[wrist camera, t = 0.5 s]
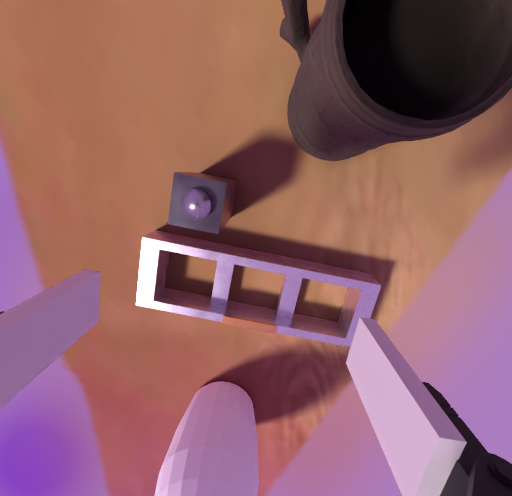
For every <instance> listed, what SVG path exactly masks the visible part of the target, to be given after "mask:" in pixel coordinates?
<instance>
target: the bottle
mask: <svg viewBox="0 0 512 496" xmlns="http://www.w3.org/2000/svg"><path fill="white" fill-rule="evenodd" d="M258 487H259V480H258V439H257V431H256V424H255V416H254V409H253V404H252V400H251V398H250V397H249V395H248V394H247V393H246V392H245V391H244V390H243V389H242V388H240V387H239V386H238V385H235V384H233V383H230V382H224V381H219V382H212V383H210V384H208V385H205V386H203V387H202V388H200V389H199V390H198V391H197V392H196V393H195V395H194V397H193V399H192V401H191V403H190V405H189V406H188V408H187V410H186V412H185V414H184V416H183V418H182V420H181V422H180V424H179V426H178V428H177V430H176V432H175V435H174V437H173V440H172V442H171V445H170V447H169V450H168V452H167V455H166V457H165V460H164V462H163V465H162V467H161V470H160V472H159V477H158V481H157V486H156V491H155V496H257V493H258Z"/></svg>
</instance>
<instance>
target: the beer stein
mask: <svg viewBox="0 0 512 496" xmlns="http://www.w3.org/2000/svg"><path fill="white" fill-rule="evenodd" d="M281 1H282V5H283V10H284V14H285V19H283V20H282V24H281V27H280V37H282V38H283V39H284V40H285V41H287V42H288V43H289V44H290V45H291V46H292V47H293V48H294V49H295V50H296V51H297V53H298V56H299V59H300V62H301V64H300V67H299V69H298V72H297V75H296V78H295V82H294V86H293V88H292V90H291V93H290V96H289V101H288V123H289V127H290V130H291V132H292V135H293V137H294V138H295V140H296V142H297V143H298V144H299V145H300V147H301V148H302V149H303V150H305V151H306V152H307V153H308V154H310V155H312V156H314V157H316V158H319V159H323V160H329V161H339V160H343V159H348V158H350V157H353V156H356V155H359V154H362V153H364V152H366V151H368V150H371V149H374V148H377V147H379V146H382V145H385V144H388V143H394V142H400V141H415V140H421V139H427V138H432V137H436V136H439V135H442V134H445V133H448V132H451V131H453V130H455V129H457V128H459V127H460V126H462V125H464V124H466V123H467V122H469V121H471V120H472V119H473V118H475V117H477V116H479V115H480V114H482V113H484V112H485V111H486V110H488V109H489V108H490V107H492V106H493V105H494V104H496V103H497V102H498V101H500V100H501V99H502V98H503V97H504V96H505V95H506V94H507V92H508V91H509V90H510V89H511V88H512V0H326V4H325V7H324V11H323V16H322V19H321V20H320V22H319V24H318V26H317V27H316V29H315V31H314V32H313V34H312V36H311V37H310V33H309V19H308V11H307V0H281Z"/></svg>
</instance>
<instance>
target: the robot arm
mask: <svg viewBox="0 0 512 496" xmlns="http://www.w3.org/2000/svg"><path fill="white" fill-rule="evenodd" d="M99 300H100V272H98V271H93V270H87V269H84V270H82V271H81V272H79V273H77V274H75V275H73V276H71V277H69V278H68V279H66V280H64V281H62V282H60V283H58V284H56V285H54V286H53V287H51V288H49V289H47V290H45V291H43V292H41V293H39V294H38V295H36V296H34V297H32V298H30V299H28V300H26V301H25V302H23V303H21V304H19V305H17V306H15V307H13V308H11V309H10V310H8V311H6V312H4V311H3V312H0V409H1V408H2V407H3V406H4V405H5V404H6V403H7V402H9V401H10V400H11V399H12V398H13V397H14V396H15V395H16V394H18V393H19V392H20V391H21V390H22V389H23V388H24V387H25V386H27V385H28V384H29V383H30V382H31V381H32V380H33V379H34V378H35V377H37V376H38V375H39V374H40V373H41V372H42V371H43V370H44V369H46V368H47V367H48V366H49V365H50V364H51V363H52V362H53V361H55V360H56V359H57V358H58V357H59V356H60V355H61V354H62V353H64V352H65V351H66V350H67V349H68V348H69V347H70V346H71V345H73V344H74V343H75V342H76V341H77V340H78V339H79V338H80V337H81V336H83V335H84V334H85V333H86V332H87V331H88V330H89V329H90V328H92V327H93V326H94V325H95V324H96V323H97V322H98V321H99ZM346 365H347V367H348V370H349V372H350V374H351V377H352V379H353V381H354V384H355V386H356V388H357V391H358V393H359V395H360V398H361V400H362V402H363V404H364V407H365V409H366V412H367V414H368V416H369V419H370V421H371V423H372V426H373V428H374V430H375V433H376V435H377V437H378V440H379V442H380V444H381V447H382V449H383V452H384V454H385V456H386V459H387V461H388V463H389V465H390V468H391V470H392V473H393V475H394V477H395V480H396V482H397V484H398V487H399V489H400V491H401V494H402V496H512V464H511V463H509V462H508V461H506V460H505V459H502V458H500V457H498V456H497V455H494V454H491V453H488V452H487V451H486V449H485V448H484V447H483V446H482V444H481V443H480V442H479V441H478V439H477V438H476V437H475V436H474V434H473V433H472V432H471V431H470V429H469V428H468V427H467V426H466V424H465V423H464V422H463V421H462V419H461V418H459V417H458V414H457V413H456V412H455V411H454V409H453V408H451V407H450V404H449V403H448V402H447V401H446V400H445V398H444V397H443V396H442V394H441V393H439V392H438V391H437V390H436V389H435V388H434V387H432V386H431V385H430V384H429V383H425V382H421V380H420V379H419V378H418V376H417V375H416V374H415V372H414V371H413V370H412V368H411V367H410V366H409V364H408V363H407V362H406V360H405V359H404V358H403V356H401V354H400V353H399V351H398V350H397V349H396V347H395V346H394V345H393V343H392V342H391V341H390V339H389V338H388V337H387V335H386V334H385V333H384V331H383V330H382V329H381V327H380V326H379V325H378V323H377V322H376V321H375V319H369V318H363V317H360V318H359V321H358V325H357V328H356V331H355V335H354V338H353V341H352V344H351V348H350V351H349V354H348V358H347V361H346Z"/></svg>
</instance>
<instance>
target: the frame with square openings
mask: <svg viewBox="0 0 512 496" xmlns="http://www.w3.org/2000/svg"><path fill="white" fill-rule="evenodd" d="M169 251H170V252H175V253H180V254H185V255H190V256H195V257H200V258H205V259H210V260H215V261H218V262H217V268H216V274H215V280H214V286H213V291H212V297H210V296H205V295H200V294H195V293H190V292H184V291H179V290H174V289H169V288H165V283H166V275H167V267H168V258H169ZM235 265H240V266H245V267H250V268H255V269H260V270H265V271H270V272H275V273H280V274H284V277H283V281H282V286H281V290H280V294H279V298H278V302H277V306H276V309H271V308H266V307H260V306H255V305H250V304H245V303H240V302H235V301H230V300H228V297H229V292H230V287H231V281H232V276H233V271H234V266H235ZM303 278H305V279H310V280H315V281H320V282H325V283H330V284H335V285H340V286H345V287H348V290H347V293H346V296H345V300H344V303H343V306H342V309H341V312H340V316H339V319H338V322H336V321H331V320H326V319H321V318H316V317H311V316H306V315H301V314H296V313H294V309H295V305H296V302H297V298H298V294H299V290H300V286H301V283H302V279H303ZM380 288H381V284H380V283H379V282H378V281H377V280H376V279H374V278H373V277H372V276H371V275H370V274H369V273H366V272H361V271H356V270H351V269H346V268H341V267H336V266H331V265H326V264H321V263H316V262H311V261H306V260H301V259H296V258H291V257H286V256H281V255H276V254H272V253H267V252H262V251H257V250H252V249H247V248H242V247H237V246H232V245H227V244H222V243H217V242H212V241H207V240H202V239H197V238H192V237H187V236H182V235H177V234H172V233H168V232H163V231H158V230H155V231H153V232H151V233H149V234H148V235H146V236H144V237H142V246H141V257H140V267H139V278H138V288H137V298H136V305H137V306H142V307H147V308H153V309H158V310H163V311H168V312H173V313H178V314H183V315H188V316H193V317H199V318H204V319H209V320H214V321H219V322H222V324H227V325H233V326H238V327H243V328H248V329H253V330H258V331H263V332H268V333H273V334H275V333H280V334H286V335H291V336H296V337H301V338H306V339H311V340H316V341H321V342H326V343H332V344H337V345H342V346H347V347H351V344H352V341H353V338H354V335H355V331H356V328H357V325H358V321H359V318H360V317H363V318H369V319H370V317H371V315H372V312H373V309H374V306H375V303H376V300H377V297H378V294H379V291H380Z"/></svg>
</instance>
